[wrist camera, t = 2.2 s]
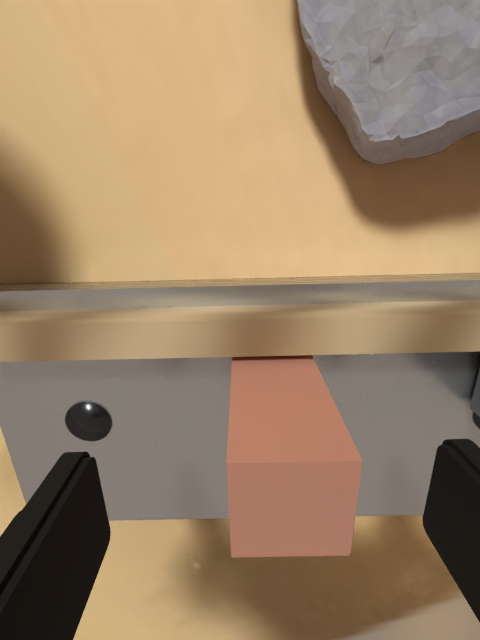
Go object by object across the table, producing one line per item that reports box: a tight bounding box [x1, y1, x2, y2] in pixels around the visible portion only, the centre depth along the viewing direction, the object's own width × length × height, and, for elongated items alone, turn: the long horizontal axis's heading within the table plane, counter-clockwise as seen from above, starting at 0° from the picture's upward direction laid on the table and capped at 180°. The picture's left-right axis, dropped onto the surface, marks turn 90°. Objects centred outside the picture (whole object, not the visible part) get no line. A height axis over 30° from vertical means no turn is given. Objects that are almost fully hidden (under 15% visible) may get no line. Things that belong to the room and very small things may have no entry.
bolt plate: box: [0, 273, 480, 520], centre depth 15 cm, size 24×12×1 cm, turn 91°
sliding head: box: [226, 355, 362, 557], centre depth 11 cm, size 3×4×6 cm
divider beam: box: [0, 300, 480, 417], centre depth 10 cm, size 23×6×6 cm, turn 91°
